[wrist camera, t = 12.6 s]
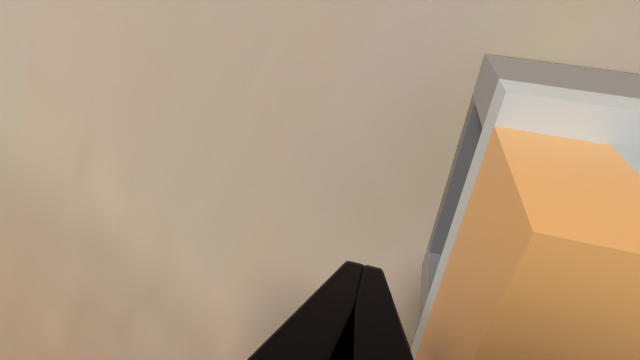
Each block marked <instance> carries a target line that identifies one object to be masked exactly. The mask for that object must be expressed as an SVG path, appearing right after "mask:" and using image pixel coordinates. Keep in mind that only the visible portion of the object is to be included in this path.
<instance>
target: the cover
mask: <svg viewBox="0 0 640 360" xmlns="http://www.w3.org/2000/svg"><path fill="white" fill-rule="evenodd" d="M411 353H412V355H413V358H414V360H640V99H637V98H630V97H623V96H616V95H609V94H602V93H595V92H588V91H582V90H575V89H568V88H561V87H554V86H547V85H540V84H533V83H526V82H519V81H512V80H505V79H499V80H498V83H497V86H496V89H495V92H494V95H493V98H492V101H491V104H490V107H489V111H488V114H487V117H486V120H485V123H484V126H483V129H482V132H481V135H480V138H479V141H478V144H477V147H476V150H475V153H474V157H473V160H472V163H471V166H470V169H469V172H468V175H467V178H466V181H465V184H464V187H463V190H462V193H461V196H460V200H459V203H458V206H457V209H456V212H455V215H454V218H453V221H452V224H451V227H450V230H449V233H448V236H447V239H446V243H445V246H444V249H443V252H442V255H441V258H440V261H439V264H438V267H437V270H436V273H435V276H434V279H433V282H432V286H431V289H430V292H429V295H428V298H427V301H426V304H425V307H424V310H423V313H422V316H421V319H420V322H419V325H418V329H417V332H416V335H415V338H414V341H413V344H412V347H411Z"/></svg>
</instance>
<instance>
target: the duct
mask: <svg viewBox="0 0 640 360" xmlns="http://www.w3.org/2000/svg"><path fill="white" fill-rule="evenodd" d="M499 79H505V80H512V81H519V82H526V83H533V84H540V85H547V86H554V87H561V88H568V89H575V90H582V91H588V92H595V93H602V94H609V95H616V96H623V97H630V98H637V99H640V74H633V73H625V72H618V71H610V70H603V69H595V68H588V67H580V66H573V65H565V64H558V63H550V62H542V61H535V60H527V59H520V58H512V57H505V56H497V55H490V54H485V56H484V59H483V63H482V66H481V69H480V73H479V76H478V79H477V83H476V86H475V90H474V93H473V96H472V100H471V103H470V106H469V110H468V113H467V117H466V120H465V123H464V127H463V130H462V133H461V137H460V140H459V144H458V147H457V150H456V154H455V157H454V160H453V164H452V167H451V170H450V174H449V177H448V181H447V184H446V187H445V191H444V194H443V197H442V201H441V204H440V208H439V211H438V214H437V218H436V221H435V224H434V228H433V231H432V235H431V238H430V241H429V245H428V248H427V251H426V255H425V258H424V261H423V265H422V289H421V316H422V313H423V310H424V307H425V304H426V301H427V298H428V295H429V292H430V289H431V286H432V282H433V279H434V276H435V273H436V270H437V267H438V264H439V261H440V258H441V255H442V252H443V249H444V246H445V243H446V239H447V236H448V233H449V230H450V227H451V224H452V221H453V218H454V215H455V212H456V209H457V206H458V203H459V200H460V196H461V193H462V190H463V187H464V184H465V181H466V178H467V175H468V172H469V169H470V166H471V163H472V160H473V157H474V153H475V150H476V147H477V144H478V141H479V138H480V135H481V132H482V129H483V126H484V123H485V120H486V117H487V114H488V111H489V107H490V104H491V101H492V98H493V95H494V92H495V89H496V86H497V83H498V80H499ZM420 319H421V318H420Z"/></svg>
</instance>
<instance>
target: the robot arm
mask: <svg viewBox="0 0 640 360" xmlns="http://www.w3.org/2000/svg"><path fill="white" fill-rule="evenodd" d="M247 360H414V358H413V355H412V353H411V350H410V347H409V344H408V341H407V338H406V335H405V333H404V330H403V327H402V324H401V321H400V318H399V315H398V313H397V310H396V307H395V304H394V301H393V298H392V296H391V293H390V290H389V287H388V284H387V281H386V278H385V276H384V273H383V271H382V269H381V268H377V267H373V266H369V265H365V266H364V265H363V264H360V263H356V262H351V261H346V262H345V263H344V264H343V265H342V266H341V267H340V268H339V269H338V270H337V271H336V272H335V273H334V274H333V275H332V276H331V277H330V278H329V279H328V280H327V281H326V282H325V283H324V284H323V285H322V286H321V287H320V288H319V289H318V290H317V291H316V292H315V293H314V294H313V295H312V296H311V297H310V298H309V299H308V300H307V301H306V302H305V303H304V304H303V305H302V306H301V307H300V308H299V309H298V310H297V311H296V312H295V313H294V314H293V315H292V316H290V317H289V318H288V319H287V320H286V321H285V322H284V323H283V324H282V325H281V326H280V327H279V328H278V329H277V330H276V331H275V332H274V333H273V334H272V335H271V336H270V337H269V338H268V339H267V340H266V341H265V342H264V343H263V344H262V345H261V346H260V347H259V348H258V349H257V350H256V351H255V352H254V353H253V354H252V355H251V356H250V357H249V358H248V359H247Z"/></svg>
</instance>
